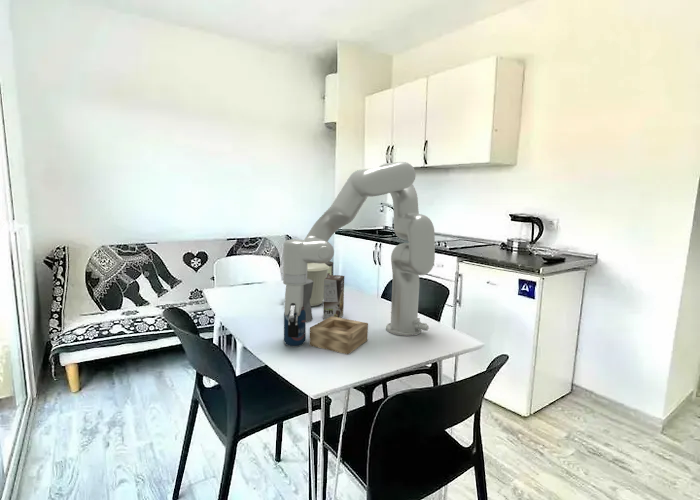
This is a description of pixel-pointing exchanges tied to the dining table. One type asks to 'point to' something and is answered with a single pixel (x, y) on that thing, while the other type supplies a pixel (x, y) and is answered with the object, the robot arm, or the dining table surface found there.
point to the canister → (317, 281)
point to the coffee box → (333, 296)
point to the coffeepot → (307, 299)
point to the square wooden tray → (339, 334)
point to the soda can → (301, 330)
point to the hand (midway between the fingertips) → (294, 332)
